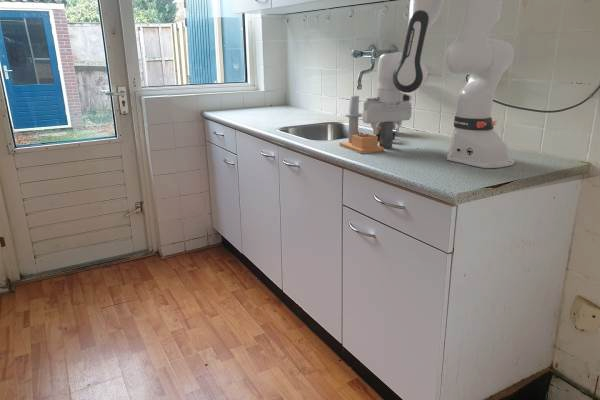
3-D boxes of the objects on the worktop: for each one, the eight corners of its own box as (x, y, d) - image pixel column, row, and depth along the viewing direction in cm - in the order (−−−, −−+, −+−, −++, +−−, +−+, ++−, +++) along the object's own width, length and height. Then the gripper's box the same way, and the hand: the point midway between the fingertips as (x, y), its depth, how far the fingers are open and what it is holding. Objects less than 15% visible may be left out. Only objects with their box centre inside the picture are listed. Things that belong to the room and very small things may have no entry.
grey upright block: (392, 148, 173) (393, 122, 169) (384, 148, 171) (385, 122, 168) (386, 146, 176) (388, 120, 172) (379, 147, 174) (380, 121, 171)
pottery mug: (366, 141, 188) (372, 123, 189) (383, 149, 192) (388, 131, 193) (384, 138, 178) (390, 119, 179) (402, 147, 182) (407, 128, 183)
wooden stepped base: (383, 150, 168) (386, 98, 162) (360, 153, 164) (362, 100, 158) (359, 142, 183) (361, 94, 177) (338, 145, 179) (338, 96, 173)
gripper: (368, 99, 161) (367, 137, 165) (415, 96, 168) (412, 132, 173) (359, 97, 166) (358, 134, 171) (404, 94, 174) (402, 129, 179)
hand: (385, 133), depth 172 cm, fingers open, 8 cm apart
